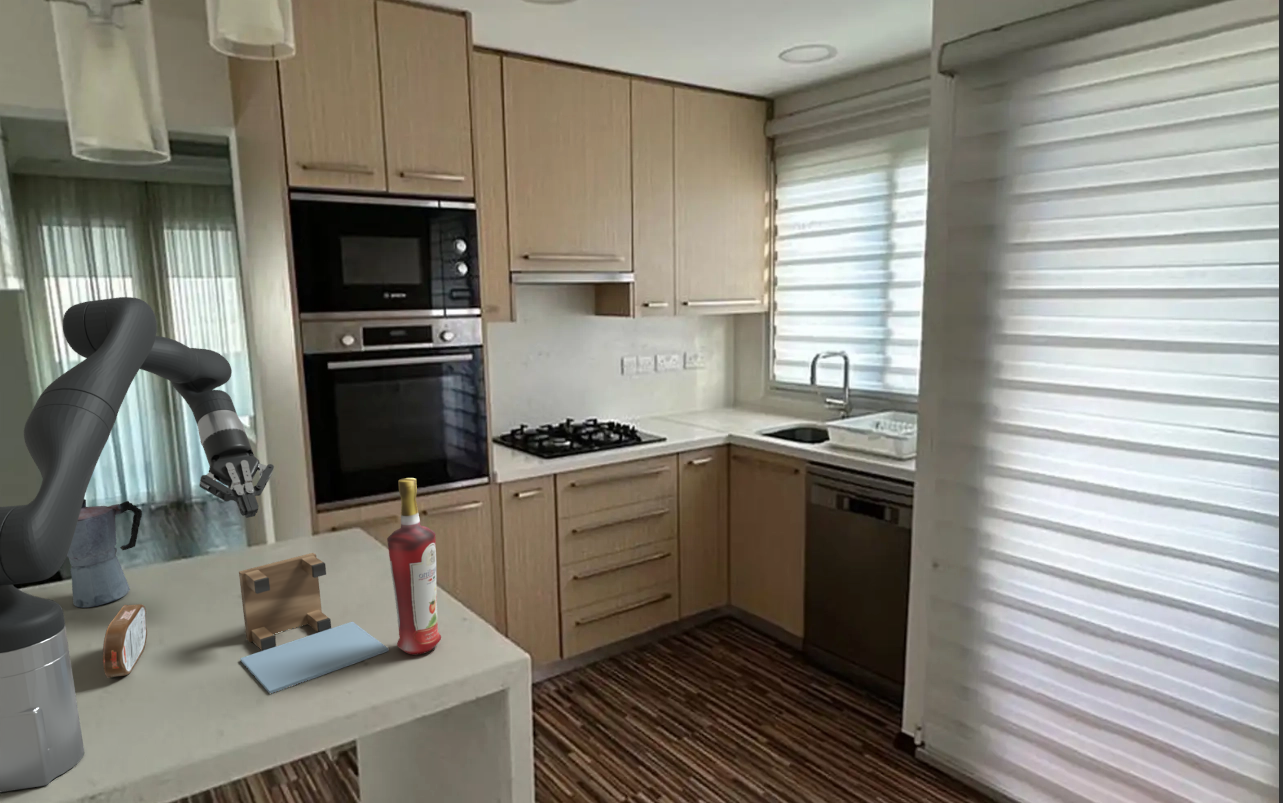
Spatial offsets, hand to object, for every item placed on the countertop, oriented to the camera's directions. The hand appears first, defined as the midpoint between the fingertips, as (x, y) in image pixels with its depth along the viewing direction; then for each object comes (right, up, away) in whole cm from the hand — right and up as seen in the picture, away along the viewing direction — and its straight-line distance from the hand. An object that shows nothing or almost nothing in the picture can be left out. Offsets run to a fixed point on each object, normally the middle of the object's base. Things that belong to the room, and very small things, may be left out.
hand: (251, 514), depth 136 cm
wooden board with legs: (+11, -19, -8) cm, 23 cm away
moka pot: (-34, -18, +10) cm, 39 cm away
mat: (+18, -20, -15) cm, 31 cm away
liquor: (+34, -20, -14) cm, 42 cm away
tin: (-11, -21, -16) cm, 29 cm away
